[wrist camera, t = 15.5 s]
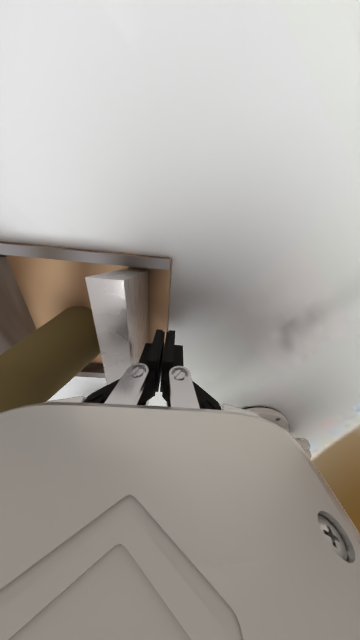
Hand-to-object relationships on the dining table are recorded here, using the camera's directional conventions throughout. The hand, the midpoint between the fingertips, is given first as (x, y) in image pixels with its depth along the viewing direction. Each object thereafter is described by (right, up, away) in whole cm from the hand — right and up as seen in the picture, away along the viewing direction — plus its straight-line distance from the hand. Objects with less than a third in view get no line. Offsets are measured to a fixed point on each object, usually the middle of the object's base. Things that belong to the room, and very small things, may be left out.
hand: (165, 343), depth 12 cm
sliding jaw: (-3, +1, +3) cm, 4 cm away
